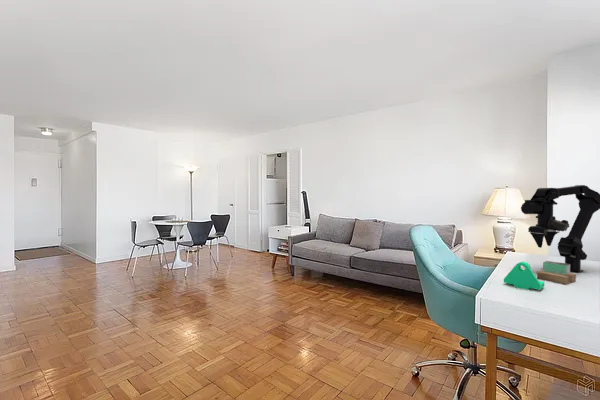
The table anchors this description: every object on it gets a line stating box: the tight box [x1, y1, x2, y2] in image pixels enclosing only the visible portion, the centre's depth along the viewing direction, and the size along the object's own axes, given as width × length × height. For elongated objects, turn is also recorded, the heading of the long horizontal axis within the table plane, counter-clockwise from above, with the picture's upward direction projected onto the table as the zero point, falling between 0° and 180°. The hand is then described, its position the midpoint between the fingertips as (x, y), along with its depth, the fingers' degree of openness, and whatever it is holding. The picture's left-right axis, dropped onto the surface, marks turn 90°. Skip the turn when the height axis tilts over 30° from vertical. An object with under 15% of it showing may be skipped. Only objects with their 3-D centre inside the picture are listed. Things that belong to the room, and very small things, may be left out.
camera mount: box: [503, 261, 545, 291], centre depth 122 cm, size 12×8×10 cm, turn 40°
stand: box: [536, 269, 577, 286], centre depth 130 cm, size 10×10×3 cm
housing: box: [542, 260, 571, 276], centre depth 130 cm, size 5×8×4 cm, turn 36°
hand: (544, 246), depth 144 cm, fingers open, 9 cm apart
